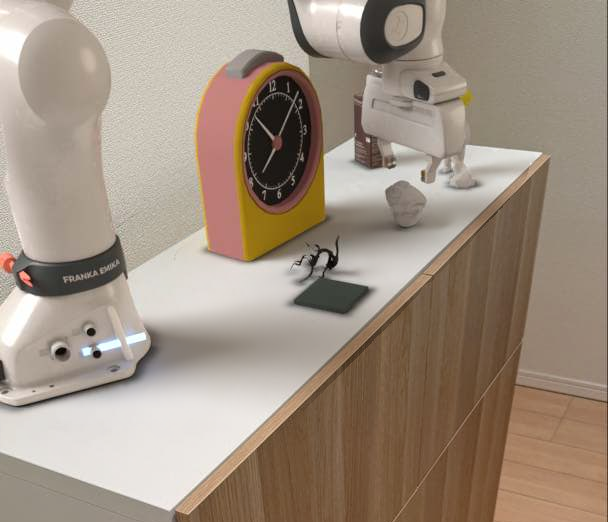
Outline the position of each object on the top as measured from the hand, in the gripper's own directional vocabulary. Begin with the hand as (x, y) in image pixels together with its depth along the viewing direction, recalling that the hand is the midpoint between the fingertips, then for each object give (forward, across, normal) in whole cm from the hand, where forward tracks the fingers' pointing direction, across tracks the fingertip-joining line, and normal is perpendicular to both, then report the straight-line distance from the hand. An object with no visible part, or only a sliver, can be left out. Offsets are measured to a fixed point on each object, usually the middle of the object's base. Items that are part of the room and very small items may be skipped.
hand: (408, 174), depth 123 cm
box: (+8, -29, +16) cm, 34 cm away
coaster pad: (+8, +13, -25) cm, 29 cm away
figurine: (+8, -11, +21) cm, 25 cm away
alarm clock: (+8, -13, -19) cm, 24 cm away
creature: (+8, +5, -22) cm, 24 cm away
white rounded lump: (+8, 0, 0) cm, 8 cm away
